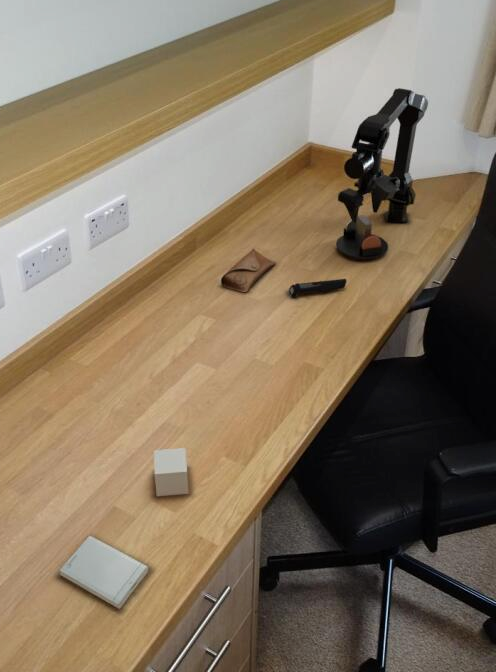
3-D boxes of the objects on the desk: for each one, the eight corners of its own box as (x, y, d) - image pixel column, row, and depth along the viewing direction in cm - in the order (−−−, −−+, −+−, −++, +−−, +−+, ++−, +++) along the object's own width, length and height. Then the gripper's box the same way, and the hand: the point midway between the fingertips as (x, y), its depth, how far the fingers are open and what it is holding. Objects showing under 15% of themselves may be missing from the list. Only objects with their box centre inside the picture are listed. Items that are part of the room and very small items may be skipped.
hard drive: (58, 570, 117) (118, 603, 112) (90, 534, 123) (147, 564, 118) (60, 576, 118) (119, 610, 113) (91, 540, 124) (148, 570, 119)
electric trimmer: (347, 292, 189) (348, 282, 187) (291, 298, 186) (292, 288, 185) (343, 285, 192) (344, 275, 190) (288, 291, 190) (288, 281, 188)
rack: (348, 263, 199) (350, 235, 194) (328, 238, 211) (330, 212, 206) (396, 255, 202) (400, 227, 197) (374, 231, 214) (377, 205, 209)
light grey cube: (188, 493, 132) (187, 471, 129) (156, 496, 132) (154, 474, 129) (186, 469, 137) (185, 447, 134) (156, 472, 137) (153, 450, 134)
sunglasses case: (248, 292, 189) (236, 271, 187) (228, 297, 193) (217, 277, 192) (277, 262, 201) (267, 242, 200) (258, 268, 206) (248, 248, 204)
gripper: (371, 184, 182) (365, 237, 191) (415, 165, 192) (408, 216, 201) (338, 172, 190) (334, 223, 198) (382, 154, 200) (377, 203, 208)
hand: (364, 217), depth 201 cm, fingers open, 9 cm apart
